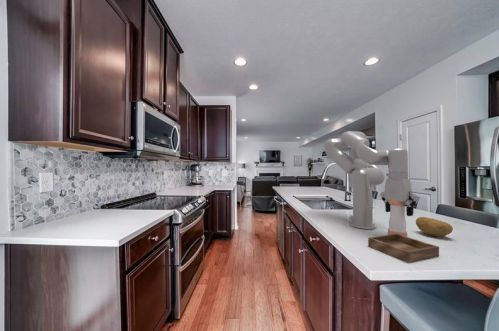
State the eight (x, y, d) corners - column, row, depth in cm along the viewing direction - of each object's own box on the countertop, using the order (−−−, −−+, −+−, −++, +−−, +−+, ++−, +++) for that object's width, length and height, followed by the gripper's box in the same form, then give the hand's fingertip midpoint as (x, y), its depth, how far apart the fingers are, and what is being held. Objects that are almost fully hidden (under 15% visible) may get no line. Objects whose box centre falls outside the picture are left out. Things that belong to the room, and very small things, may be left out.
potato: (444, 241, 93) (445, 223, 93) (410, 232, 107) (410, 216, 107) (458, 239, 97) (458, 221, 97) (423, 230, 110) (423, 214, 110)
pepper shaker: (410, 241, 93) (410, 197, 93) (392, 240, 95) (392, 197, 95) (402, 236, 101) (402, 195, 101) (385, 235, 102) (385, 194, 102)
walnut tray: (368, 246, 88) (368, 237, 88) (396, 241, 93) (396, 233, 93) (408, 262, 73) (408, 252, 73) (439, 256, 78) (439, 246, 78)
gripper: (374, 175, 104) (375, 210, 104) (412, 176, 88) (413, 218, 88) (386, 175, 107) (386, 209, 107) (424, 176, 91) (425, 216, 90)
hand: (398, 213), depth 97 cm, fingers open, 9 cm apart
